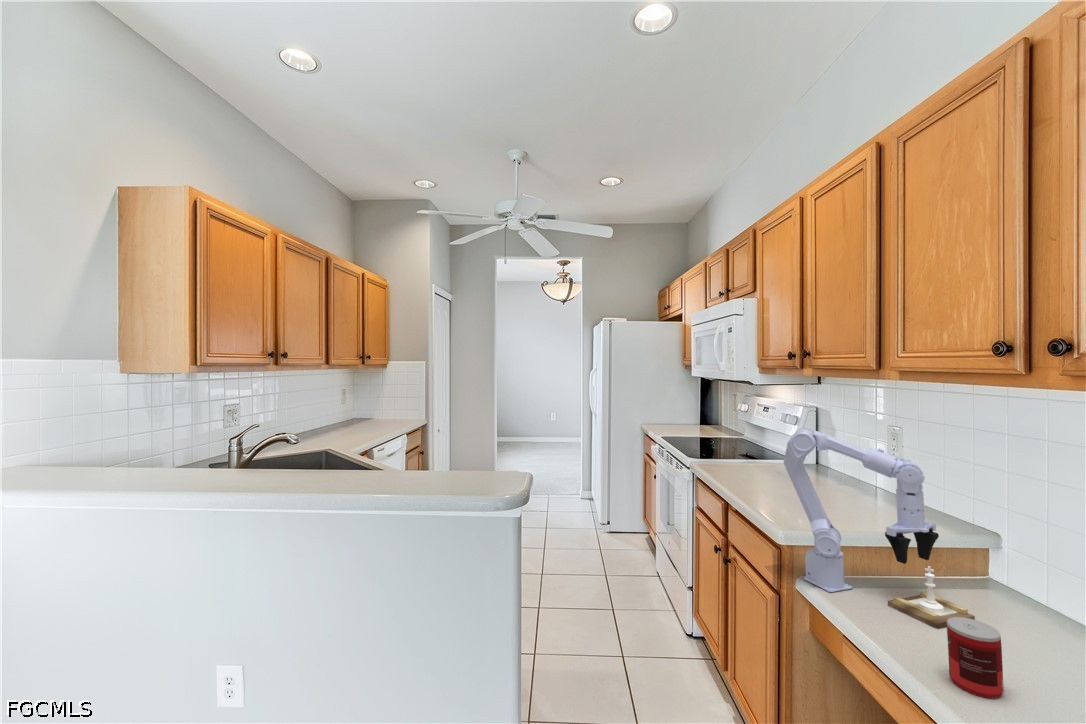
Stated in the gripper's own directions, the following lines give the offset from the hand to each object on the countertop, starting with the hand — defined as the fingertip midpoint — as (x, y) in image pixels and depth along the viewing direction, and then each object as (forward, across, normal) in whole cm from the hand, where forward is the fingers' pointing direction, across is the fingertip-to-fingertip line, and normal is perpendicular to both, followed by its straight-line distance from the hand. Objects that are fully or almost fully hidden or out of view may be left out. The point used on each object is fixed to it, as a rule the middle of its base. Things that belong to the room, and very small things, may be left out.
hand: (912, 560), depth 125 cm
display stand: (+10, -3, -6) cm, 12 cm away
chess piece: (+9, -3, -6) cm, 11 cm away
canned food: (+11, -23, -29) cm, 38 cm away
